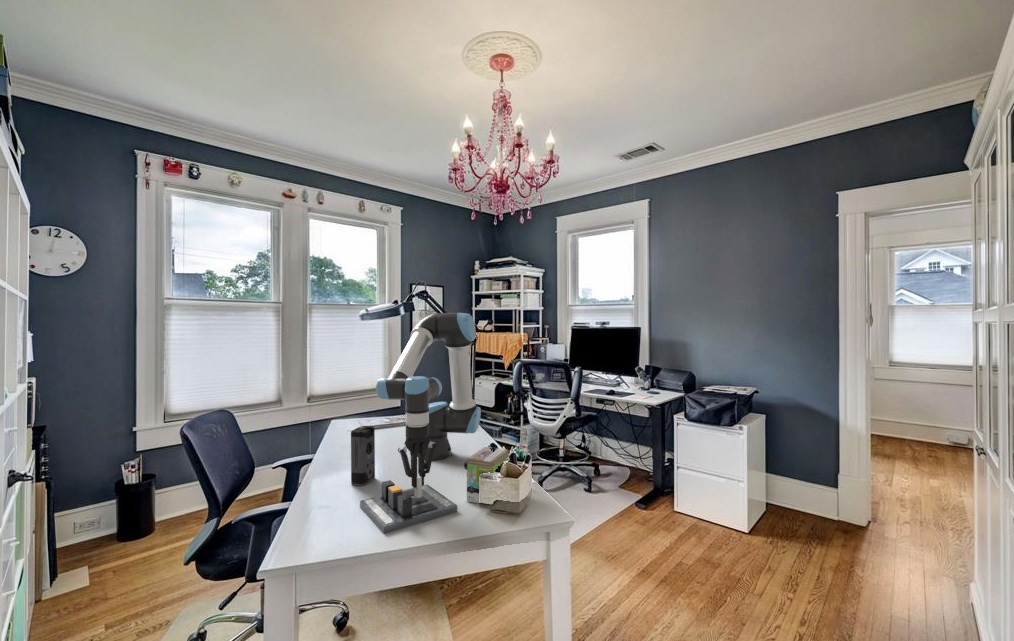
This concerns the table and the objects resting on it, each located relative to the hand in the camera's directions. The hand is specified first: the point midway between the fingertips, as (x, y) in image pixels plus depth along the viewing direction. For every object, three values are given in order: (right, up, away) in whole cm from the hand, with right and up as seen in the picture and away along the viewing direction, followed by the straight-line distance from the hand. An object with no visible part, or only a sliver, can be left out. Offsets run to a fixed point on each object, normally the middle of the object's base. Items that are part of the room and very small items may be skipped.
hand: (417, 496), depth 145 cm
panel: (-3, -3, -2) cm, 5 cm away
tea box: (+23, -4, +9) cm, 25 cm away
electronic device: (-25, -4, +22) cm, 34 cm away
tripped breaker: (-6, -1, -5) cm, 8 cm away
